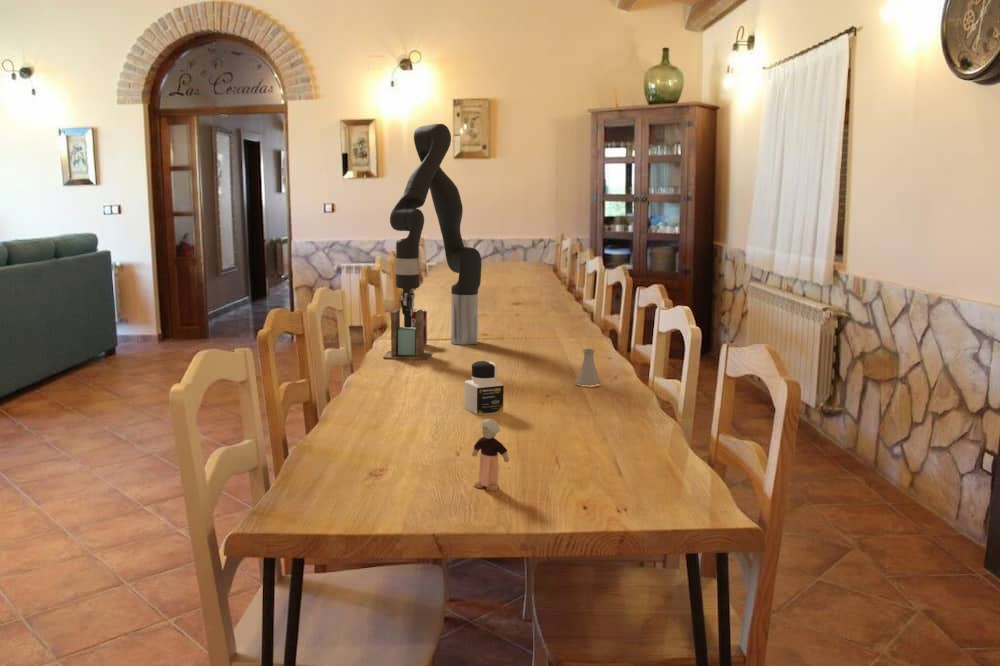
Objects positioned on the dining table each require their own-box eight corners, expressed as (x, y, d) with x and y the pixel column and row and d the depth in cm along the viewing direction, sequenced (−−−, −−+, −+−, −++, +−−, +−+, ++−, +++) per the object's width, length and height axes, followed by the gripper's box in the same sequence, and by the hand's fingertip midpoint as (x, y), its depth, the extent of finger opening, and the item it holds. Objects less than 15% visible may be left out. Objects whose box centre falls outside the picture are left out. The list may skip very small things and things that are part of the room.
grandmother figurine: (465, 488, 151) (465, 419, 149) (473, 481, 154) (474, 414, 152) (505, 494, 148) (506, 424, 146) (513, 487, 151) (514, 418, 149)
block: (417, 352, 271) (417, 327, 270) (415, 355, 266) (414, 330, 264) (400, 351, 271) (400, 327, 270) (397, 354, 266) (397, 329, 264)
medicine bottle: (477, 416, 199) (477, 366, 197) (464, 409, 205) (464, 360, 203) (503, 412, 202) (504, 363, 200) (490, 406, 208) (490, 358, 206)
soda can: (425, 347, 285) (425, 311, 283) (404, 346, 285) (404, 311, 283) (427, 343, 292) (428, 308, 290) (407, 342, 292) (406, 308, 290)
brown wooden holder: (431, 353, 273) (431, 309, 271) (427, 359, 263) (427, 313, 261) (388, 352, 274) (388, 308, 271) (383, 358, 264) (382, 312, 261)
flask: (604, 384, 234) (605, 348, 232) (596, 389, 227) (597, 353, 226) (579, 381, 237) (580, 346, 235) (570, 386, 230) (572, 350, 229)
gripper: (416, 274, 257) (417, 330, 260) (422, 270, 270) (422, 324, 273) (392, 274, 258) (392, 330, 260) (398, 270, 271) (399, 323, 273)
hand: (407, 327), depth 267 cm, fingers closed
